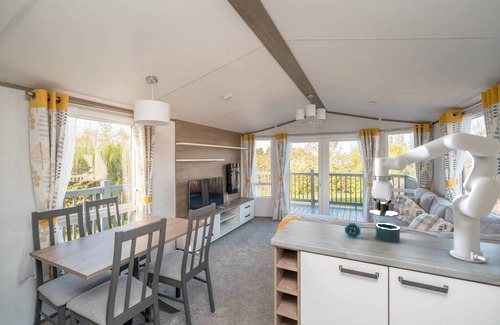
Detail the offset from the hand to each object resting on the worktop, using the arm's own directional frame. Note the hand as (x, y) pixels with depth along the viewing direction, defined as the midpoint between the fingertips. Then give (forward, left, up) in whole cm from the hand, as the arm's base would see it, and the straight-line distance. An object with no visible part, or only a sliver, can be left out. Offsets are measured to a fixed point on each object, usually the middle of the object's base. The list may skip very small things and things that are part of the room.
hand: (382, 210), depth 125 cm
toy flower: (+20, +6, -21) cm, 30 cm away
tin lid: (0, 0, -2) cm, 2 cm away
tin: (+9, -11, -21) cm, 25 cm away
